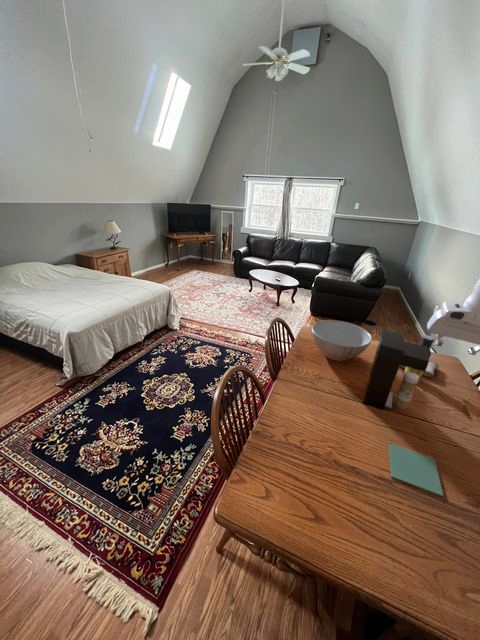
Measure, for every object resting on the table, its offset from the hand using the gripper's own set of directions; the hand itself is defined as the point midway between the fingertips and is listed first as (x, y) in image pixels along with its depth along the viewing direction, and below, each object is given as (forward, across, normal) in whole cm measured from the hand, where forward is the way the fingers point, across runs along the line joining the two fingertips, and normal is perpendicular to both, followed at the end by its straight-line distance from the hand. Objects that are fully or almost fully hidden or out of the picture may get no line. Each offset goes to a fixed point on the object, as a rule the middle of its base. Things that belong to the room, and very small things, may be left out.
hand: (454, 349), depth 87 cm
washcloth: (+31, -1, -26) cm, 40 cm away
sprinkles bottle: (+26, +7, +6) cm, 27 cm away
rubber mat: (+21, +7, +34) cm, 40 cm away
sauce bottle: (+29, 0, -15) cm, 33 cm away
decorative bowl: (+32, +32, -20) cm, 50 cm away
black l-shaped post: (+26, +12, +6) cm, 29 cm away
